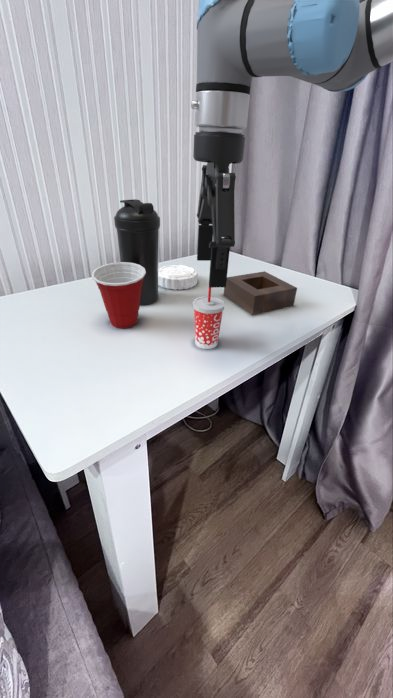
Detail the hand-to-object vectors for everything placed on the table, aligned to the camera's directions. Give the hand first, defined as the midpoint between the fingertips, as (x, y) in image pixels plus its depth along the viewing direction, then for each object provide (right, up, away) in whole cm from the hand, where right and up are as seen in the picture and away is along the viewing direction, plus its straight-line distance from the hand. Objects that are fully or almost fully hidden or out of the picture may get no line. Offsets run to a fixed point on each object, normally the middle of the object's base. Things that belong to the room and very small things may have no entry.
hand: (210, 272), depth 60 cm
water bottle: (-17, -1, +25) cm, 30 cm away
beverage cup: (0, -13, +8) cm, 15 cm away
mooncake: (-8, +5, +36) cm, 37 cm away
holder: (+14, -1, +27) cm, 30 cm away
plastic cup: (-19, -8, +14) cm, 25 cm away
